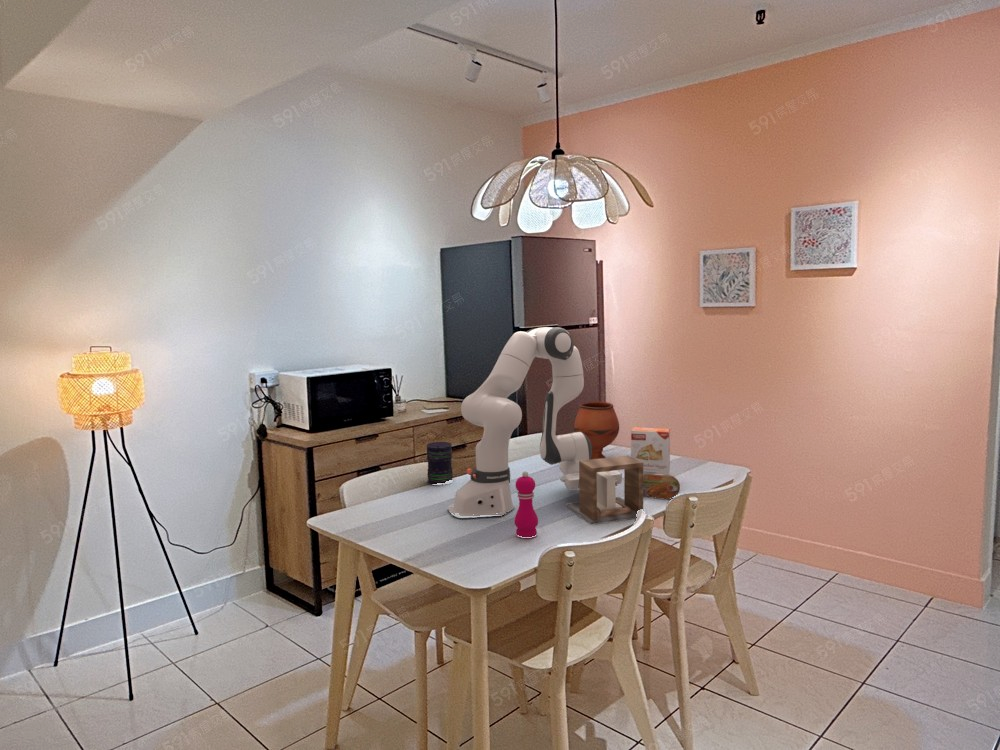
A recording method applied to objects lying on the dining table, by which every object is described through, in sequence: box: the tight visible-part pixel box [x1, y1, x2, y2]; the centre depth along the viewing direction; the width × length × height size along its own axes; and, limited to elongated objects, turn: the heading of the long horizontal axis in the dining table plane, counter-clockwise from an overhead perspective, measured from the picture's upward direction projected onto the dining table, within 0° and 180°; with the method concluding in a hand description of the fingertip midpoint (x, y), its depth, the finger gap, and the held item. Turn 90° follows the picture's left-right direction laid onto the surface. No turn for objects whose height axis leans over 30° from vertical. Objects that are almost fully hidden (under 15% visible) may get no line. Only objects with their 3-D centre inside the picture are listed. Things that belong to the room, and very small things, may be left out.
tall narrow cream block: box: [597, 472, 622, 511], centre depth 227 cm, size 8×9×12 cm
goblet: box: [573, 400, 620, 460], centre depth 289 cm, size 19×19×25 cm
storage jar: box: [426, 441, 454, 486], centre depth 266 cm, size 10×10×15 cm
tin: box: [643, 473, 681, 500], centre depth 241 cm, size 15×3×8 cm, turn 62°
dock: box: [566, 455, 644, 525], centre depth 227 cm, size 20×19×18 cm
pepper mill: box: [513, 470, 539, 537], centre depth 207 cm, size 7×7×20 cm
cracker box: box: [630, 426, 671, 475], centre depth 257 cm, size 14×6×21 cm, turn 71°
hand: (602, 485), depth 229 cm, fingers open, 8 cm apart
